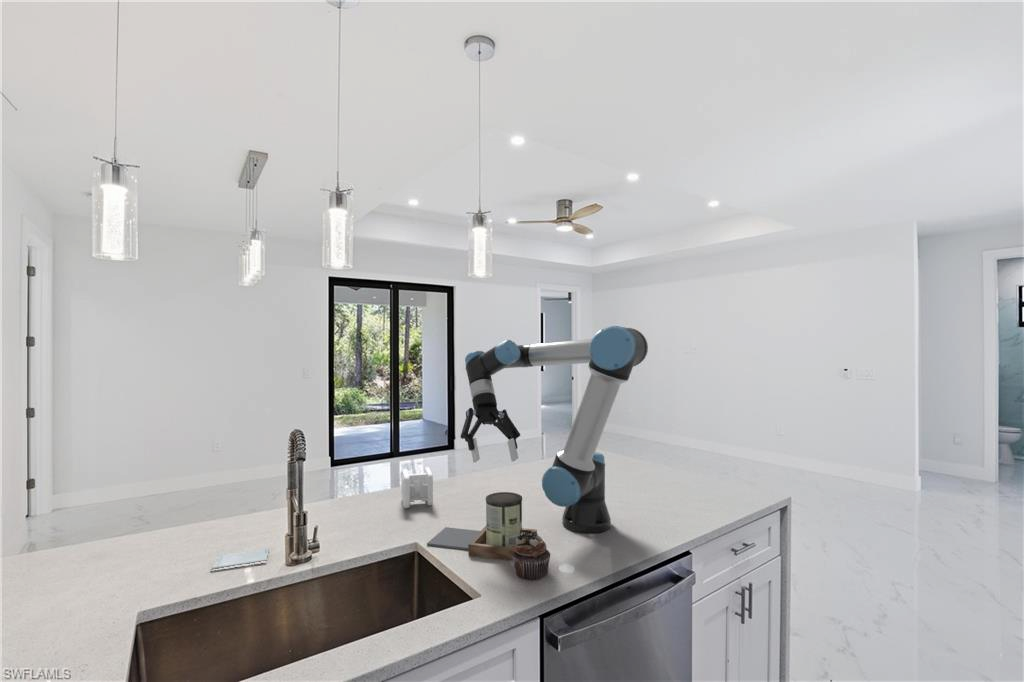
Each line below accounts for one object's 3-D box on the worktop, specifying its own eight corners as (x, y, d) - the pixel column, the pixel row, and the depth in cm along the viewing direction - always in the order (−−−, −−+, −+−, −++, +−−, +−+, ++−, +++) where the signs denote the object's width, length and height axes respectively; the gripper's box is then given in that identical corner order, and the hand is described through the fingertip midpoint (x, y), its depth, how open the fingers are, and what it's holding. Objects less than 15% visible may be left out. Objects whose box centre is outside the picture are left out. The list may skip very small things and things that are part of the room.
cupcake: (548, 583, 114) (548, 541, 115) (508, 580, 116) (508, 538, 116) (552, 566, 124) (552, 526, 124) (515, 563, 126) (515, 524, 126)
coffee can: (499, 537, 143) (499, 489, 143) (529, 545, 137) (529, 495, 137) (478, 550, 134) (478, 498, 134) (509, 558, 128) (509, 505, 129)
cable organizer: (433, 508, 169) (433, 475, 169) (402, 511, 166) (402, 477, 167) (428, 496, 184) (428, 465, 184) (400, 498, 181) (400, 467, 181)
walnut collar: (536, 540, 141) (536, 529, 141) (523, 562, 126) (523, 550, 126) (487, 534, 145) (486, 524, 145) (468, 555, 130) (468, 544, 130)
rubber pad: (485, 533, 146) (485, 531, 146) (469, 550, 134) (469, 548, 134) (445, 529, 150) (445, 527, 150) (427, 545, 137) (427, 543, 137)
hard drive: (269, 547, 133) (217, 554, 129) (267, 559, 126) (211, 567, 121) (269, 553, 133) (217, 560, 129) (266, 566, 126) (211, 573, 121)
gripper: (509, 403, 165) (523, 463, 154) (443, 399, 151) (453, 465, 140) (521, 393, 160) (536, 455, 149) (453, 388, 146) (465, 456, 135)
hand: (496, 460), depth 145 cm, fingers open, 13 cm apart
